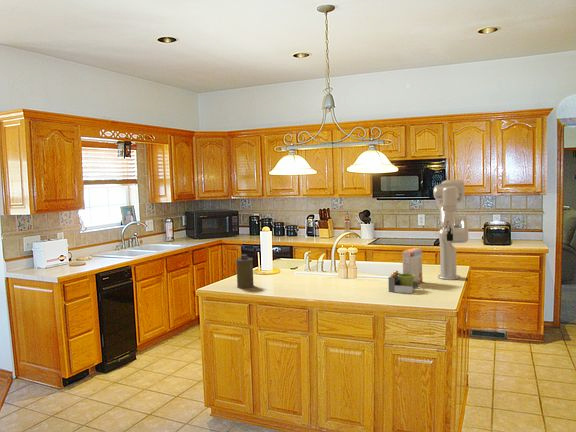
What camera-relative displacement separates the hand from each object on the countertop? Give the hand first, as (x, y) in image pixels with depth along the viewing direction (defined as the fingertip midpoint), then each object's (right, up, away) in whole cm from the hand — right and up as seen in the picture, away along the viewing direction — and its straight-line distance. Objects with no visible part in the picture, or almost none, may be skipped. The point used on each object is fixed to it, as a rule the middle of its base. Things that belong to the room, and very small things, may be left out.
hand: (449, 240), depth 270 cm
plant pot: (-25, -28, -1) cm, 38 cm away
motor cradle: (-27, -28, 0) cm, 39 cm away
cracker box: (-18, -27, +14) cm, 35 cm away
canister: (-119, -30, +23) cm, 125 cm away
